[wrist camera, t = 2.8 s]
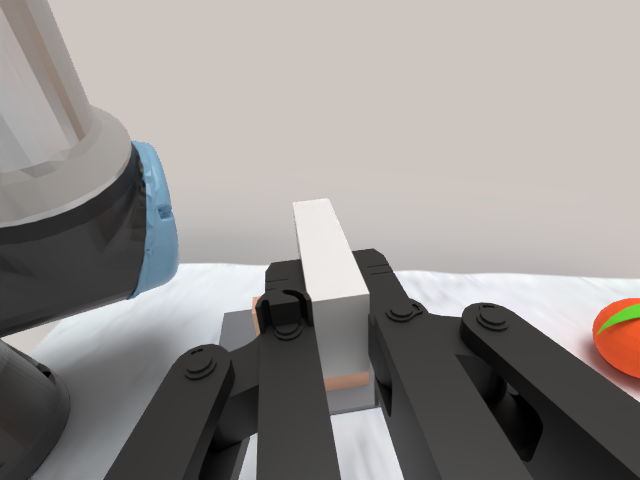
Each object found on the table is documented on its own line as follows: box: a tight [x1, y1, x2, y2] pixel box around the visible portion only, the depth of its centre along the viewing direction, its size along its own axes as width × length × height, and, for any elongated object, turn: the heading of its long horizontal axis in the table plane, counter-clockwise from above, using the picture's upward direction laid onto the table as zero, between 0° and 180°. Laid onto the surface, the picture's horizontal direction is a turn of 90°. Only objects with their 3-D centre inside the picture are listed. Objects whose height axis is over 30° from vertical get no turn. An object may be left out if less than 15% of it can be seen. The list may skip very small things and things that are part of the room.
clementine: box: [592, 298, 640, 378], centre depth 30 cm, size 8×7×7 cm
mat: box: [219, 309, 381, 415], centre depth 36 cm, size 20×15×1 cm
